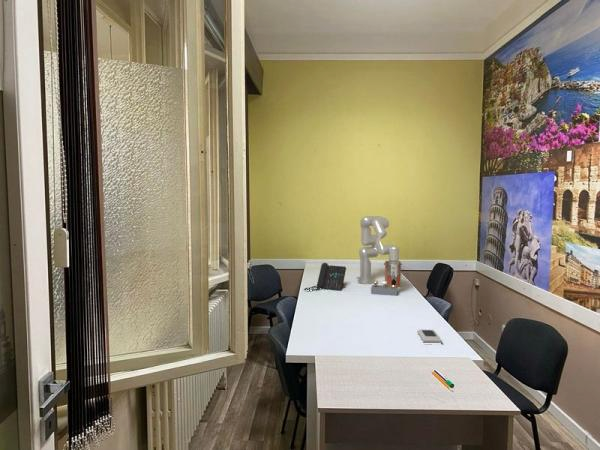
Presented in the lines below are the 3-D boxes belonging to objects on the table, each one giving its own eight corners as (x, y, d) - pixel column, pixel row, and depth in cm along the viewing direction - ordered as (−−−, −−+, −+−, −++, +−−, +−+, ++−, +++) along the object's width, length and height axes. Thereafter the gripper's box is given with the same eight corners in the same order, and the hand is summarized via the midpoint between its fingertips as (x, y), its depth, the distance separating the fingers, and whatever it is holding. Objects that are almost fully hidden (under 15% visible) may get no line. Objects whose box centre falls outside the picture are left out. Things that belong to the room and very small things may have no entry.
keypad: (423, 338, 210) (417, 328, 225) (423, 345, 211) (417, 334, 226) (442, 338, 210) (434, 328, 225) (441, 345, 210) (434, 335, 225)
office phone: (302, 291, 323) (302, 267, 321) (313, 283, 350) (313, 261, 348) (337, 294, 313) (337, 269, 311) (346, 286, 339) (346, 263, 337)
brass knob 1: (372, 288, 315) (372, 281, 315) (373, 287, 319) (373, 280, 318) (377, 288, 314) (377, 281, 314) (378, 287, 318) (378, 280, 317)
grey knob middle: (381, 288, 313) (381, 281, 313) (382, 287, 317) (382, 280, 317) (386, 289, 312) (386, 282, 312) (387, 287, 316) (387, 281, 316)
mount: (371, 293, 313) (371, 287, 312) (372, 290, 323) (372, 284, 322) (397, 295, 307) (397, 289, 307) (397, 292, 317) (397, 286, 317)
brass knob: (390, 292, 312) (390, 285, 311) (390, 291, 315) (391, 284, 315) (395, 292, 310) (396, 285, 310) (396, 291, 314) (396, 284, 314)
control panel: (383, 285, 342) (400, 285, 340) (384, 287, 335) (402, 287, 333) (383, 260, 340) (401, 260, 339) (384, 262, 333) (402, 262, 332)
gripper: (398, 263, 303) (398, 287, 304) (399, 260, 317) (398, 283, 318) (388, 263, 305) (388, 287, 306) (389, 260, 319) (389, 282, 321)
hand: (393, 285), depth 312 cm, fingers closed
